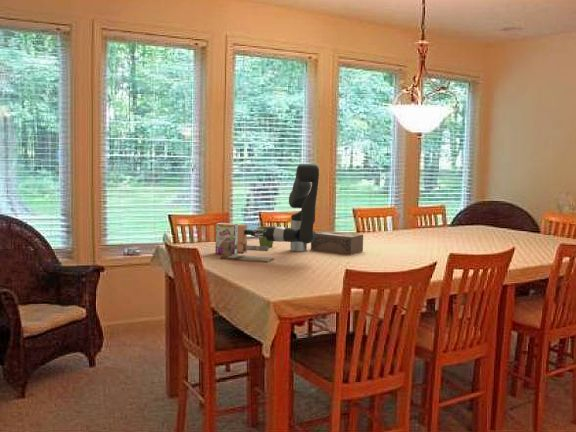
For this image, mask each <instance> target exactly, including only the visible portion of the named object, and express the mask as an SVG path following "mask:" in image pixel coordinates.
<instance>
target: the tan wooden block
mask: <svg viewBox="0 0 576 432" xmlns="http://www.w3.org/2000/svg"><path fill="white" fill-rule="evenodd" d="M247 227H248V226H247V224H244V223H243V224H242V223H241V224H238V240H237V254H236V255H243V254H244V255H245V254H246V253H247V252H248V250H243V245H248V241H247V238H248V236H247V234H244V231H245V230H248V228H247Z"/></svg>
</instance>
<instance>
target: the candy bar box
mask: <svg viewBox="0 0 576 432" xmlns="http://www.w3.org/2000/svg"><path fill="white" fill-rule="evenodd" d="M238 225H239V224H237V223H230V222H229V223H228V222H217V223H216V224H215V254H217V255H218V254H219V255H223V242H225V241H232V244H237V240H238ZM232 255H238V254H237V249H232Z"/></svg>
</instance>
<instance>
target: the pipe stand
mask: <svg viewBox="0 0 576 432" xmlns="http://www.w3.org/2000/svg"><path fill="white" fill-rule="evenodd" d="M232 249H237V244H232V241H225V242H223V254H222V256H220V257H219V259H220V260H221V259H222V260H231V261H232V260H233V261H242V262H243V261H245V262H255V263H256V262H257V263H268V264H269V263H270V262H271V261H274V260H275V257H269V256H268V257H267V256H256V255H255V256H254V255H245V254H244V255H243V254H236V255H232ZM243 250H247V251H254V252H255V251H256V252H269V247H265V246H260V245H251V244H250V245H249V244H247V245H243Z"/></svg>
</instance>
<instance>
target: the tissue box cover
mask: <svg viewBox="0 0 576 432" xmlns="http://www.w3.org/2000/svg"><path fill="white" fill-rule="evenodd" d="M315 233H316V239H315V241H314V242H312V243H310V250H311V251H316V250H317V252H324V251H325V253H326V252H327V253H332V252H333V254H340V253H341V255H342V254H343V255H348V254H349V256H352V255H355V253H356V254H360V253H363V252H362V251H363V250H364V234H360V233H350V232H342V231H332V230H320V231H319V230H318V231H315ZM359 252H360V253H359ZM351 254H352V255H351Z"/></svg>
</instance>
